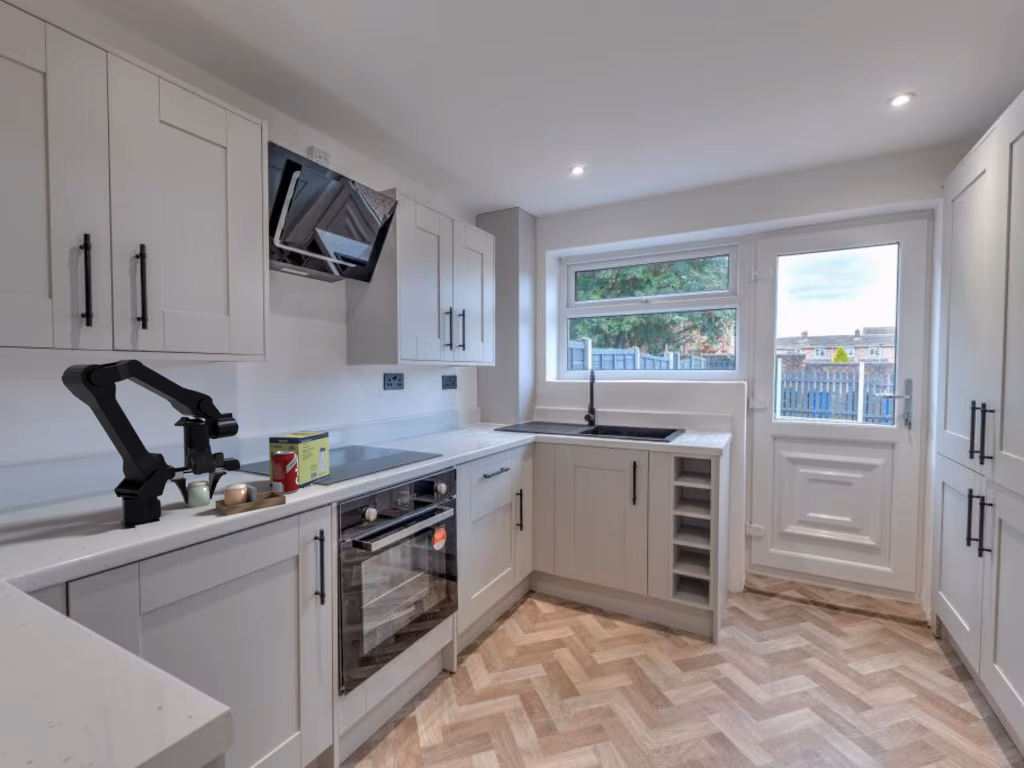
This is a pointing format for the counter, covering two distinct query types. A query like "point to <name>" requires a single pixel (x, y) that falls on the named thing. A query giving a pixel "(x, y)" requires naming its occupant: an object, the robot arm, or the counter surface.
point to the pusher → (251, 493)
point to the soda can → (285, 472)
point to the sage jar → (198, 494)
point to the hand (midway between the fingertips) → (198, 501)
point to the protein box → (304, 454)
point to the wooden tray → (253, 503)
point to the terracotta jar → (235, 494)
